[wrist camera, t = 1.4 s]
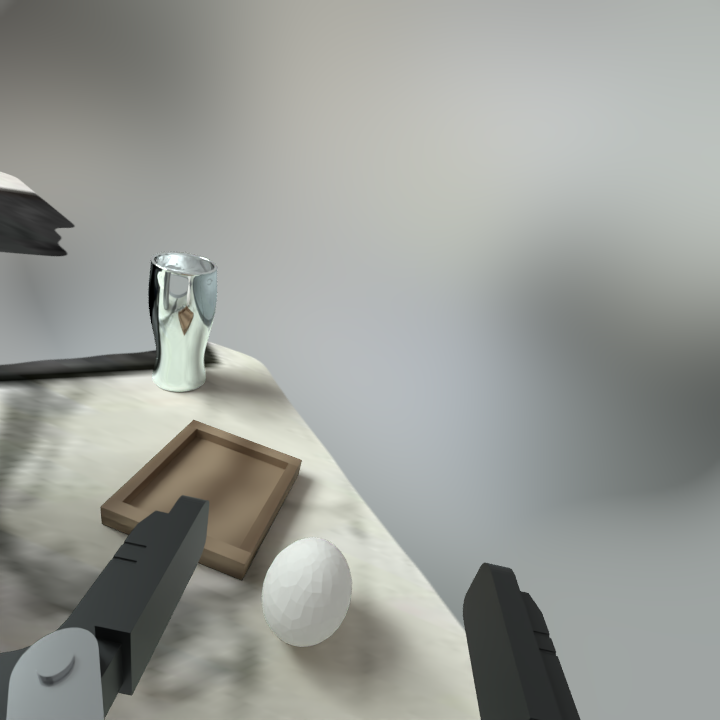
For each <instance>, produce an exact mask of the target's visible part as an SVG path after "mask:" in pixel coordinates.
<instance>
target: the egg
mask: <svg viewBox="0 0 720 720" xmlns="http://www.w3.org/2000/svg"><path fill="white" fill-rule="evenodd" d="M351 594H352V579H351V574H350V569H349V567H348V564H347V561H346V559H345V558H344V556H343V554H342V553H341V551H340V550H339V549H338V548H337V547H336V546H335V545H334V544H332V543H331V542H329V541H327V540H325V539H322V538H314V537H310V538H304V539H301V540H298V541H296V542H294V543H292V544H291V545H289V546H288V547H286V548H285V549H284V550H282V551H281V552H280V553H279V554H278V555H277V556H276V558H275V559H274V561H273V563H272V564H271V566H270V568H269V569H268V571H267V574H266V577H265V580H264V583H263V590H262V607H263V614H264V617H265V619H266V622H267V624H268V626H269V627H270V629H271V630H272V632H273V633H274V634H275V635H276V636H277V637H278V638H279V639H281V640H282V641H284V642H286V643H288V644H290V645H293V646H299V647H306V646H312V645H315V644H319V643H321V642H322V641H324V640H325V639H327V638H329V637H330V636H331V635H332V634H333V633H334V632H335V631H336V630H337V629H338V627H339V626H340V624H341V623H342V621H343V619H344V618H345V616H346V613H347V611H348V608H349V605H350V600H351Z"/></svg>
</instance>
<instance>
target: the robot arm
mask: <svg viewBox="0 0 720 720" xmlns="http://www.w3.org/2000/svg"><path fill="white" fill-rule="evenodd" d="M208 515H209V501H208V500H203V499H199V498H194V497H190V496H185V495H182V496H180V497H179V499H178V500H177V501H176V503H175V505H174V506H173V508H172V509H171V511H170V512H169V513H165V512H161V511H154V512H153V513H152V514H150V515H149V516H147V517H146V518H145V519H143V520H142V521H141V522H139V523H138V524H137V525H136V526H135V528H134V529H133V530H132V532H131V533H130V535H129V536H128V537H127V539H126V540H125V542H124V544H123V545H121V547H120V548H119V550H118V551H117V552H116V554H115V555H114V557H113V559H112V560H110V562H109V563H108V565H107V566H106V567H105V569H104V570H103V571H102V573H101V574H100V575H99V577H98V578H97V580H96V581H95V582H94V584H93V585H92V586H91V588H90V589H89V591H88V592H87V593H86V595H85V596H84V597H83V599H82V600H81V601H80V603H79V604H78V606H77V607H76V608H75V610H74V611H73V612H72V614H71V615H70V616H69V618H68V619H67V620H66V621H65V622H64V623H63V624H62V625H61V626H60V627H59V628H58V629H57V630H56V631H55V632H53V633H50V634H48V635H47V636H45V637H43V638H41V639H40V640H39V641H37V642H36V643H34V644H33V645H31V646H29V647H26V648H23V649H20V650H16V651H11V652H5V653H0V720H104V719H105V717H106V715H107V713H108V711H109V709H110V707H111V705H112V703H113V702H114V700H115V698H116V696H117V694H118V693H122V694H127V695H132V694H133V692H134V690H135V688H136V686H137V684H138V682H139V680H140V678H141V676H142V674H143V672H144V670H145V668H146V666H147V664H148V662H149V660H150V658H151V656H152V654H153V652H154V650H155V648H156V646H157V644H158V642H159V640H160V638H161V636H162V634H163V632H164V630H165V628H166V626H167V624H168V622H169V620H170V618H171V616H172V614H173V612H174V610H175V608H176V606H177V604H178V602H179V600H180V598H181V596H182V594H183V592H184V590H185V588H186V586H187V584H188V582H189V580H190V578H191V576H192V574H193V572H194V570H195V568H196V566H197V564H198V562H199V560H200V557H201V555H202V552H203V549H204V546H205V542H206V536H207V525H208ZM463 620H464V626H465V631H466V637H467V643H468V649H469V654H470V660H471V666H472V671H473V677H474V683H475V689H476V694H477V700H478V706H479V712H480V717H481V720H580V717H579V715H578V712H577V709H576V706H575V703H574V701H573V698H572V695H571V692H570V690H569V687H568V684H567V681H566V678H565V676H564V673H563V670H562V667H561V664H560V662H559V659H558V657H557V656H556V651H555V648H554V645H553V642H552V640H551V638H549V631H548V629H547V626H546V623H545V620H544V617H543V614H542V612H541V611H540V609H539V608H538V607H537V605H536V603H535V602H534V601H533V599H532V598H531V596H530V595H529V593H526V592H521V591H520V589H519V586H518V584H517V580H516V577H515V574H514V572H513V571H512V569H510V568H506V567H502V566H498V565H493V564H489V563H483V564H482V565H481V567H480V569H479V571H478V572H477V574H476V576H475V578H474V580H473V582H472V584H471V586H470V588H469V590H468V592H467V593H466V596H465V599H464V604H463Z"/></svg>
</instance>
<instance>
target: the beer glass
mask: <svg viewBox="0 0 720 720" xmlns="http://www.w3.org/2000/svg"><path fill="white" fill-rule="evenodd" d="M216 301H217V265H216V264H215V263H214V262H213V261H211V260H209V259H207V258H205V257H202V256H199V255H195V254H190V253H184V252H162V253H157V254H155V255H153V256H152V257H151V266H150V275H149V288H148V304H149V313H150V320H151V324H152V329H153V334H154V339H155V344H156V361H155V365H154V369H153V373H152V379H153V382H154V383H155V384H156V385H157V386H158V387H160V388H162V389H165V390H168V391H173V392H186V391H191V390H194V389H197V388H199V387H200V386H202V385H203V384H204V382H205V380H206V372H205V365H204V353H205V348H206V344H207V341H208V337H209V334H210V330H211V327H212V324H213V319H214V315H215V310H216Z"/></svg>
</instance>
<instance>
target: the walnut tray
mask: <svg viewBox="0 0 720 720" xmlns="http://www.w3.org/2000/svg"><path fill="white" fill-rule="evenodd" d="M301 462H302V460H300V459H297V458H295V457H292V456H289V455H287V454H284V453H281V452H279V451H276V450H273V449H271V448H268V447H265V446H263V445H260V444H257V443H254V442H252V441H249V440H246V439H244V438H241V437H238V436H236V435H233V434H230V433H228V432H225V431H222V430H219V429H217V428H214V427H211V426H209V425H206V424H203V423H201V422H198V421H195V420H193V421H192V422H191V423H190V424H189V425H188V426H186V427H185V428H184V429H183V430H182V431H181V432H180V433H179V434H178V435H177V436H176V437H175V438H174V439H173V440H171V441H170V442H169V443H168V444H167V445H166V446H165V447H164V448H163V449H162V450H161V451H160V452H159V453H158V454H156V455H155V456H154V457H153V458H152V459H151V460H150V461H149V462H148V463H147V464H146V465H145V466H144V467H143V468H142V469H140V470H139V471H138V472H137V473H136V474H135V475H134V476H133V477H132V478H131V479H130V480H129V481H128V482H127V483H125V484H124V485H123V486H122V487H121V488H120V489H119V490H118V491H117V492H116V493H115V494H114V495H113V496H112V497H110V498H109V499H108V500H107V501H106V502H105V503H104V504H103V505H102V506H101V519H102V524H103V525H106V526H108V527H111V528H113V529H116V530H118V531H121V532H123V533H126V534H128V535H130V533H131V532H132V530H133V529H134V528H135V526H136V525H137V524H138V523H139V522H141V521H142V520H143V519H145V518H146V517H147V516H149V515H150V514H152V513H153V512H154V511H161V512H165V513H169V512H170V511H171V509H172V508H173V506H174V505H175V503H176V501H177V500H178V499H179V497H180V496H182V495H185V496H190V497H194V498H199V499H203V500H208V501H209V515H208V525H207V536H206V542H205V546H204V549H203V552H202V555H201V557H200V560H199V562H198V563H200V564H202V565H205V566H207V567H210V568H212V569H215V570H217V571H220V572H222V573H225V574H227V575H230V576H232V577H235V578H237V579H240V580H242V579H243V577H244V576H245V574H246V572H247V570H248V568H249V566H250V564H251V562H252V561H253V559H254V557H255V555H256V553H257V551H258V549H259V547H260V545H261V544H262V542H263V540H264V538H265V536H266V534H267V532H268V530H269V529H270V527H271V525H272V523H273V521H274V519H275V517H276V515H277V514H278V512H279V510H280V508H281V506H282V504H283V502H284V500H285V498H286V497H287V495H288V493H289V491H290V489H291V487H292V485H293V483H294V482H295V480H296V478H297V476H298V474H299V470H300V466H301Z"/></svg>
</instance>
